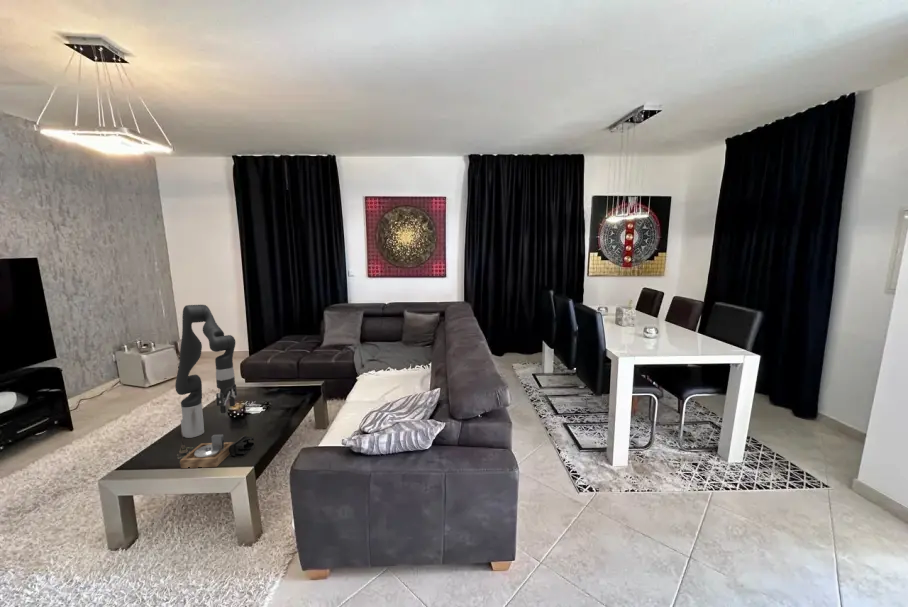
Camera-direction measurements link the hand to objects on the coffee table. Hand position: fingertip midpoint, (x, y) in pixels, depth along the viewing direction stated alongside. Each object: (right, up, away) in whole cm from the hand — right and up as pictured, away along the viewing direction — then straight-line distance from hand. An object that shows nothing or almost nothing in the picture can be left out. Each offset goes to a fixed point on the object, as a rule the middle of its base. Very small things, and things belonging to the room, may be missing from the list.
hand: (228, 409), depth 179 cm
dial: (-9, -22, 0) cm, 23 cm away
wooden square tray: (-10, -24, +1) cm, 26 cm away
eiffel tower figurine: (-24, -25, +4) cm, 35 cm away
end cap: (+3, -24, +7) cm, 25 cm away
